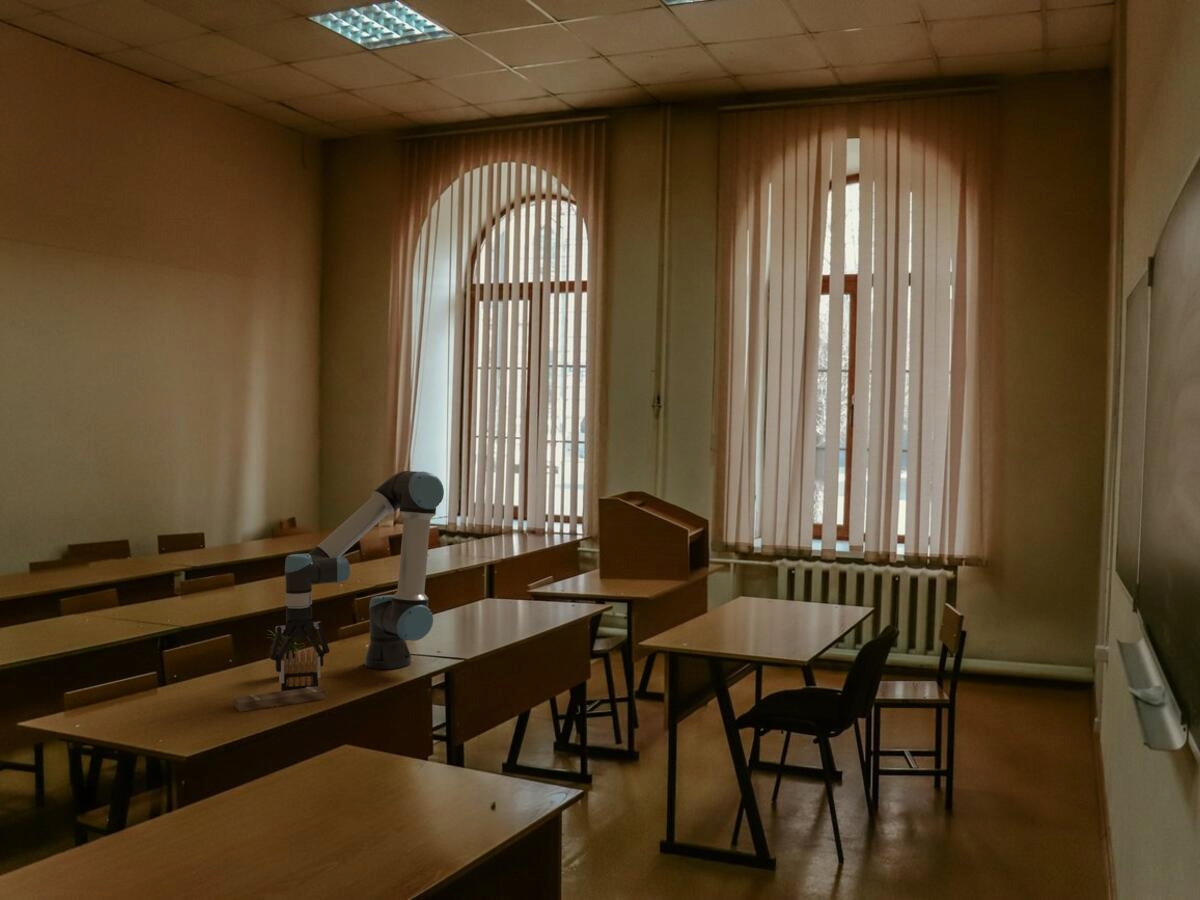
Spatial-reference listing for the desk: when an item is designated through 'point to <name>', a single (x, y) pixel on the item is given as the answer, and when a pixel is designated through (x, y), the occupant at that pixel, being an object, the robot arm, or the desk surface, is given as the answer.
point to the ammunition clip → (300, 671)
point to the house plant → (291, 647)
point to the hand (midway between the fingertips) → (299, 679)
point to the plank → (279, 698)
